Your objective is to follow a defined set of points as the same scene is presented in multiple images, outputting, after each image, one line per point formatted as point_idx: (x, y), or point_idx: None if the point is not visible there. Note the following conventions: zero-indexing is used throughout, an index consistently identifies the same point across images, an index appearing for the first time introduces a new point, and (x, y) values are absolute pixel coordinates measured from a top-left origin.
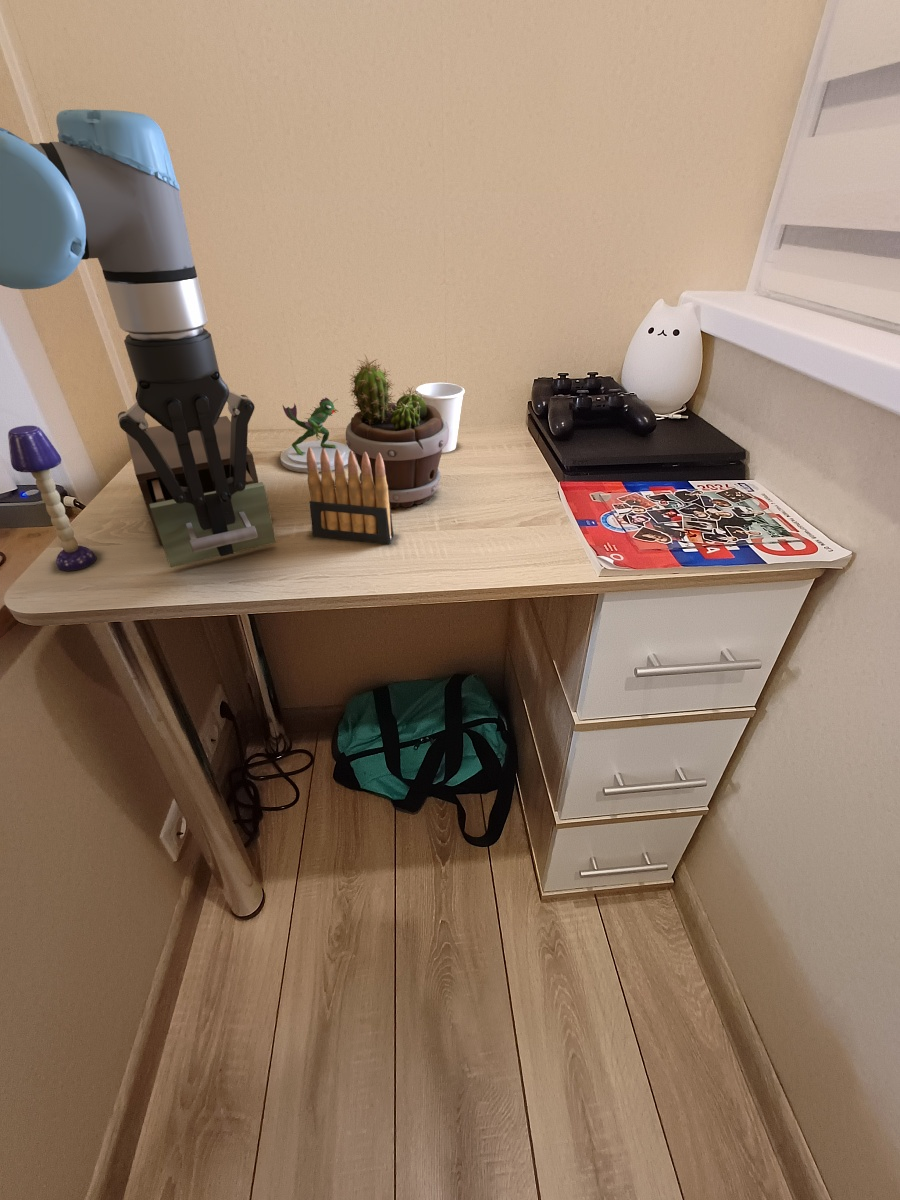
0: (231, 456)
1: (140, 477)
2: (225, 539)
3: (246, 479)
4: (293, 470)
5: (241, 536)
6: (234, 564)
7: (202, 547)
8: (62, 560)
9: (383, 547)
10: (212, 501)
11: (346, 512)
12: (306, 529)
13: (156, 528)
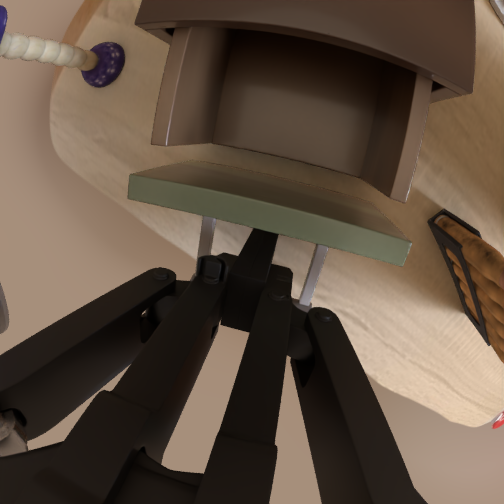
0: (320, 387)
1: (146, 26)
2: None
3: (396, 184)
4: (492, 6)
5: None
6: None
7: None
8: (83, 77)
9: (457, 315)
10: (238, 317)
11: (471, 295)
12: (433, 191)
13: None
